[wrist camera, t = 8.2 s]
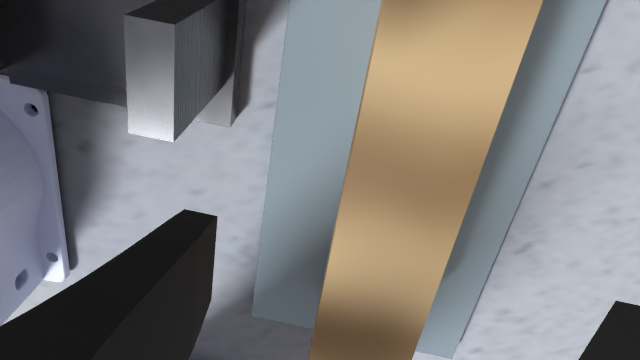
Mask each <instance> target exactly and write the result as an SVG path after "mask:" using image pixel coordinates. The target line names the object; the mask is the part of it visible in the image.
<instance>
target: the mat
mask: <svg viewBox="0 0 640 360" xmlns="http://www.w3.org/2000/svg"><path fill="white" fill-rule="evenodd" d="M605 3H606V0H543V2H542V5H541V8H540V10H539V13H538V16H537V19H536V21H535V24H534V27H533V30H532V32H531V35H530V38H529V41H528V43H527V46H526V49H525V51H524V54H523V57H522V60H521V62H520V65H519V68H518V71H517V73H516V76H515V79H514V82H513V84H512V87H511V90H510V92H509V95H508V98H507V101H506V103H505V106H504V109H503V112H502V114H501V117H500V120H499V123H498V125H497V128H496V131H495V134H494V136H493V139H492V142H491V144H490V147H489V150H488V153H487V155H486V158H485V161H484V164H483V166H482V169H481V172H480V175H479V177H478V180H477V183H476V185H475V188H474V191H473V194H472V196H471V199H470V202H469V205H468V207H467V210H466V213H465V216H464V218H463V221H462V224H461V226H460V229H459V232H458V235H457V237H456V240H455V243H454V246H453V248H452V251H451V254H450V257H449V259H448V262H447V265H446V268H445V270H444V273H443V276H442V278H441V281H440V284H439V287H438V289H437V292H436V295H435V298H434V300H433V303H432V306H431V309H430V311H429V314H428V317H427V319H426V322H425V325H424V328H423V330H422V333H421V336H420V339H419V341H418V344H417V347H416V350H415V351H417V352H422V353H427V354H432V355H436V356H441V357H446V358H450V359H452V358H453V355H454V353H455V351H456V348H457V346H458V344H459V341H460V339H461V337H462V334H463V332H464V330H465V327H466V325H467V323H468V320H469V318H470V316H471V314H472V311H473V309H474V307H475V304H476V302H477V300H478V297H479V295H480V293H481V290H482V288H483V286H484V283H485V281H486V279H487V276H488V274H489V272H490V269H491V267H492V265H493V262H494V260H495V258H496V256H497V253H498V251H499V249H500V246H501V244H502V242H503V239H504V237H505V235H506V232H507V230H508V228H509V225H510V223H511V221H512V218H513V216H514V214H515V211H516V209H517V207H518V204H519V202H520V200H521V198H522V195H523V193H524V191H525V188H526V186H527V184H528V181H529V179H530V177H531V174H532V172H533V170H534V167H535V165H536V163H537V160H538V158H539V156H540V153H541V151H542V149H543V147H544V144H545V142H546V140H547V137H548V135H549V133H550V130H551V128H552V126H553V123H554V121H555V119H556V116H557V114H558V112H559V109H560V107H561V105H562V102H563V100H564V98H565V95H566V93H567V91H568V89H569V86H570V84H571V82H572V79H573V77H574V75H575V72H576V70H577V68H578V65H579V63H580V61H581V58H582V56H583V54H584V51H585V49H586V47H587V44H588V42H589V40H590V37H591V35H592V33H593V31H594V28H595V26H596V24H597V21H598V19H599V17H600V14H601V12H602V10H603V7H604V5H605ZM380 4H381V0H290V1H289V9H288V18H287V26H286V34H285V42H284V50H283V58H282V66H281V75H280V83H279V91H278V99H277V107H276V115H275V124H274V132H273V140H272V148H271V156H270V164H269V172H268V181H267V189H266V197H265V205H264V213H263V221H262V230H261V238H260V246H259V254H258V262H257V270H256V278H255V287H254V295H253V303H252V311H251V316H252V317H257V318H262V319H266V320H271V321H276V322H281V323H285V324H290V325H295V326H299V327H304V328H309V329H314V324H315V319H316V314H317V308H318V303H319V297H320V292H321V287H322V282H323V278H324V273H325V268H326V263H327V258H328V254H329V249H330V244H331V239H332V234H333V230H334V225H335V220H336V215H337V210H338V206H339V201H340V196H341V191H342V186H343V182H344V177H345V172H346V167H347V162H348V158H349V153H350V148H351V143H352V138H353V133H354V129H355V124H356V119H357V114H358V109H359V105H360V100H361V95H362V90H363V85H364V81H365V76H366V71H367V66H368V61H369V57H370V52H371V47H372V42H373V37H374V33H375V28H376V23H377V18H378V13H379V9H380Z"/></svg>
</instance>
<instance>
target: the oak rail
mask: <svg viewBox="0 0 640 360" xmlns="http://www.w3.org/2000/svg"><path fill="white" fill-rule="evenodd" d="M542 2H543V0H381V4H380V9H379V13H378V18H377V23H376V28H375V33H374V37H373V42H372V47H371V52H370V57H369V61H368V66H367V71H366V76H365V81H364V85H363V90H362V95H361V100H360V105H359V109H358V114H357V119H356V124H355V129H354V133H353V138H352V143H351V148H350V153H349V158H348V162H347V167H346V172H345V177H344V182H343V186H342V191H341V196H340V201H339V206H338V210H337V215H336V220H335V225H334V230H333V234H332V239H331V244H330V249H329V254H328V258H327V263H326V268H325V273H324V278H323V282H322V287H321V292H320V297H319V303H318V308H317V314H316V319H315V324H314V330H313V335H312V341H311V346H310V352H309V357H308V360H412V358H413V355H414V352H415V350H416V347H417V344H418V341H419V339H420V336H421V333H422V330H423V328H424V325H425V322H426V319H427V317H428V314H429V311H430V309H431V306H432V303H433V300H434V298H435V295H436V292H437V289H438V287H439V284H440V281H441V278H442V276H443V273H444V270H445V268H446V265H447V262H448V259H449V257H450V254H451V251H452V248H453V246H454V243H455V240H456V237H457V235H458V232H459V229H460V226H461V224H462V221H463V218H464V216H465V213H466V210H467V207H468V205H469V202H470V199H471V196H472V194H473V191H474V188H475V185H476V183H477V180H478V177H479V175H480V172H481V169H482V166H483V164H484V161H485V158H486V155H487V153H488V150H489V147H490V144H491V142H492V139H493V136H494V134H495V131H496V128H497V125H498V123H499V120H500V117H501V114H502V112H503V109H504V106H505V103H506V101H507V98H508V95H509V92H510V90H511V87H512V84H513V82H514V79H515V76H516V73H517V71H518V68H519V65H520V62H521V60H522V57H523V54H524V51H525V49H526V46H527V43H528V41H529V38H530V35H531V32H532V30H533V27H534V24H535V21H536V19H537V16H538V13H539V10H540V8H541V5H542Z"/></svg>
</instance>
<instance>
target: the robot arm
mask: <svg viewBox="0 0 640 360" xmlns="http://www.w3.org/2000/svg"><path fill="white" fill-rule="evenodd" d="M31 104H33V105H34V106H35V107H36V108H37V110H38V112H36V111H34V110H33V109H32V107H31ZM216 229H217V216H214V215H209V214H204V213H200V212H195V211H190V210H185V209H184V210H183V211H181V212H180V213H178V214H177V215H175V216H174V217H172V218H171V219H169V220H168V221H166V222H165V223H164V224H162V225H161V226H159V227H158V228H156V229H155V230H154V231H152V232H151V233H149V234H148V235H147V236H145V237H144V238H142V239H141V240H139V241H138V242H137V243H135V244H134V245H132V246H131V247H129V248H128V249H126V250H125V251H124V252H122V253H120V254H119V255H117V256H116V257H114V258H113V259H111V260H110V261H108V262H107V263H105V264H104V265H102V266H101V267H99V268H98V269H96V270H95V271H93V272H92V273H90V274H89V275H87V276H86V277H84V278H82V279H81V280H79V281H78V282H76V283H74V284H73V285H71V286H69V287H68V288H66V289H64V290H63V291H61V292H59V293H58V294H56V295H54V296H53V297H51V298H49V299H48V300H46V301H44V302H43V303H41V304H39V305H38V306H36V307H34V308H32V309H31V310H29V311H27V312H25V313H24V314H22V315H20V316H18V317H16V318H15V319H13V320H11V321H9V322H7V323H5V324H4V325H2V324H3V323H4V322H5V321H6V320H7V319H8V318H9V317H10V316H11V314H12V313H13V312H14V311H15V310H16V309H17V308H18V307H19V306H20V305H21V303H22V302H23V301H24V300H25V299H26V298H27V297H28V296H29V295H30V294H31V293H32V291H33V290H34V289H35V288H36V287H37V286H38V285H39V284H40V283H41V282H42V280H48V281H53V282H63V281H64V280H65V279H66V278H67V277H68V276H69V274H70V269H69V261H68V253H67V245H66V237H65V229H64V221H63V213H62V205H61V197H60V189H59V181H58V173H57V165H56V157H55V149H54V141H53V133H52V124H51V116H50V108H49V100H48V95H47V92H46V91H45V90H40V89H35V88H30V87H25V86H20V85H15V84H10V80H9V76H5V75H0V360H188V358H189V356H190V354H191V352H192V350H193V348H194V345H195V343H196V340H197V337H198V335H199V332H200V329H201V327H202V324H203V321H204V318H205V315H206V313H207V310H208V307H209V304H210V301H211V295H212V281H213V268H214V255H215V242H216ZM53 253H54V254H55V255H54V254H53ZM1 325H2V326H1ZM579 360H640V306H638V305H634V304H629V303H624V302H619V301H615V303H614V305H613V306H612V308H611V309H610V311H609V312H608V314H607V316H606V317H605V319H604V320H603V322H602V324H601V325H600V327H599V328H598V330H597V331H596V333H595V335H594V336H593V338H592V339H591V341H590V342H589V344H588V346H587V347H586V349H585V350H584V352H583V354H582V355H581V357H580V358H579Z"/></svg>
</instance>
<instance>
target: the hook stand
mask: <svg viewBox="0 0 640 360" xmlns="http://www.w3.org/2000/svg"><path fill="white" fill-rule="evenodd" d="M245 4H246V0H0V70H1V69H4V68H6V67H7V68H8V74H9V80H10V84H15V85H20V86H25V87H30V88H35V89H40V90H45V91H50V92H55V93H60V94H65V95H70V96H75V97H80V98H85V99H90V100H95V101H100V102H105V103H110V104H115V105H120V106H125V107H127V114H128V133H130V134H135V135H140V136H145V137H150V138H155V139H160V140H165V141H170V142H174V141H175V140H176V139H177V138H178V137H179V136H180V134H181V133H182V132H183V131H184V130H185V129H186V128H187V127H188V125H189V124H190V123H191V122H192V121H193V120H195V121H200V122H205V123H210V124H215V125H220V126H225V127H231V126H232V124H233V123H234V121H235V120H236V116H237V104H238V91H239V79H240V66H241V54H242V41H243V29H244V16H245Z"/></svg>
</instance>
